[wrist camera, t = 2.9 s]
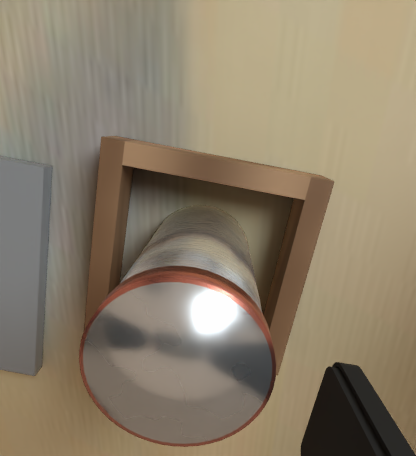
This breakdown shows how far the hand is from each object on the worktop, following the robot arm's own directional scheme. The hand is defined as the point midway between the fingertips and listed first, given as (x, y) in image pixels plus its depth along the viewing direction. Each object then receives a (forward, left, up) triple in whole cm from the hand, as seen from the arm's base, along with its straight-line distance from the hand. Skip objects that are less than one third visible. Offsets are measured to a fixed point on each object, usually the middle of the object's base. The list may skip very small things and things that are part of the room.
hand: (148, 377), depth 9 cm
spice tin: (-1, 0, -9) cm, 9 cm away
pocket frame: (-1, 0, -9) cm, 9 cm away
